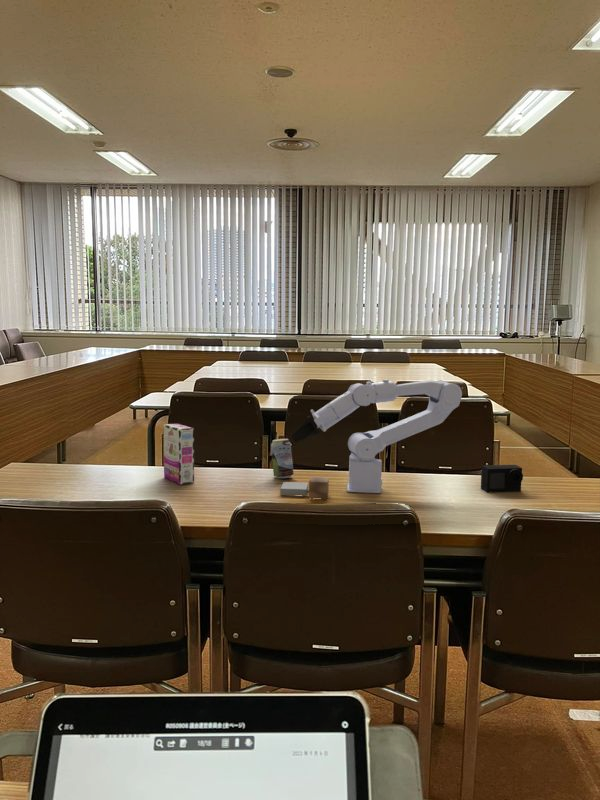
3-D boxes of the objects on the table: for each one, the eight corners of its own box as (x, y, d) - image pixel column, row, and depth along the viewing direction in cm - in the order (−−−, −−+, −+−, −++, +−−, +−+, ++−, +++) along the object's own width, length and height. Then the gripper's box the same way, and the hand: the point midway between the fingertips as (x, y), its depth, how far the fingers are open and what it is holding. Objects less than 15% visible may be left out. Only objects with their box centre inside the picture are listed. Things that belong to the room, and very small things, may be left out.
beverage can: (285, 481, 192) (285, 442, 190) (266, 477, 196) (266, 438, 195) (298, 477, 197) (298, 438, 195) (279, 473, 201) (279, 435, 200)
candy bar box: (195, 483, 190) (194, 427, 187) (179, 485, 187) (179, 429, 184) (178, 475, 198) (177, 422, 196) (163, 477, 195) (162, 424, 193)
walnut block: (328, 495, 178) (328, 477, 178) (327, 500, 173) (327, 482, 173) (310, 494, 179) (310, 477, 178) (308, 499, 174) (309, 481, 173)
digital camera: (488, 494, 181) (489, 469, 180) (480, 488, 187) (481, 465, 186) (523, 492, 183) (524, 468, 182) (513, 487, 188) (515, 464, 187)
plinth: (308, 489, 183) (308, 482, 183) (306, 496, 176) (306, 489, 176) (283, 488, 184) (283, 482, 184) (280, 495, 177) (280, 488, 177)
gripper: (323, 403, 188) (284, 429, 186) (327, 397, 173) (284, 425, 172) (337, 423, 187) (298, 449, 186) (341, 419, 173) (299, 447, 172)
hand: (292, 439), depth 179 cm, fingers open, 7 cm apart
